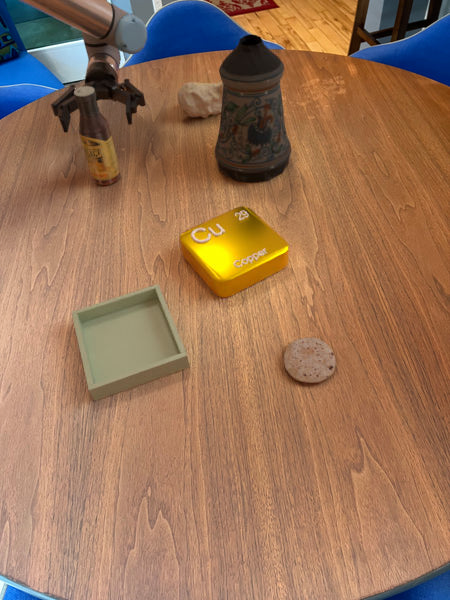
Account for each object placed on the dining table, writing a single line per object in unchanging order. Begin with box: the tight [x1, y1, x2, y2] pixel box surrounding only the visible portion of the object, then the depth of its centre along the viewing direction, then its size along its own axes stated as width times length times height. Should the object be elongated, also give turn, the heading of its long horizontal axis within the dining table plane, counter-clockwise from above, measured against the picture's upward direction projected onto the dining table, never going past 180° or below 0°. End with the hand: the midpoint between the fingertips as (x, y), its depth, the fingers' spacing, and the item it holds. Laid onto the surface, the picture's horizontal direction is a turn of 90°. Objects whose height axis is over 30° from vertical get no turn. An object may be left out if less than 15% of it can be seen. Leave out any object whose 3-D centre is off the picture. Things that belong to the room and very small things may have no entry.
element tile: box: [179, 205, 290, 299], centre depth 85 cm, size 15×15×5 cm
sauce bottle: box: [74, 86, 121, 186], centre depth 98 cm, size 6×6×20 cm
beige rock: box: [177, 79, 223, 119], centre depth 119 cm, size 15×7×15 cm
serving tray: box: [70, 283, 191, 402], centre depth 74 cm, size 16×15×3 cm
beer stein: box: [214, 33, 292, 184], centre depth 97 cm, size 16×19×25 cm
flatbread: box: [283, 336, 336, 384], centre depth 71 cm, size 8×8×1 cm
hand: (96, 122), depth 100 cm, fingers open, 13 cm apart
